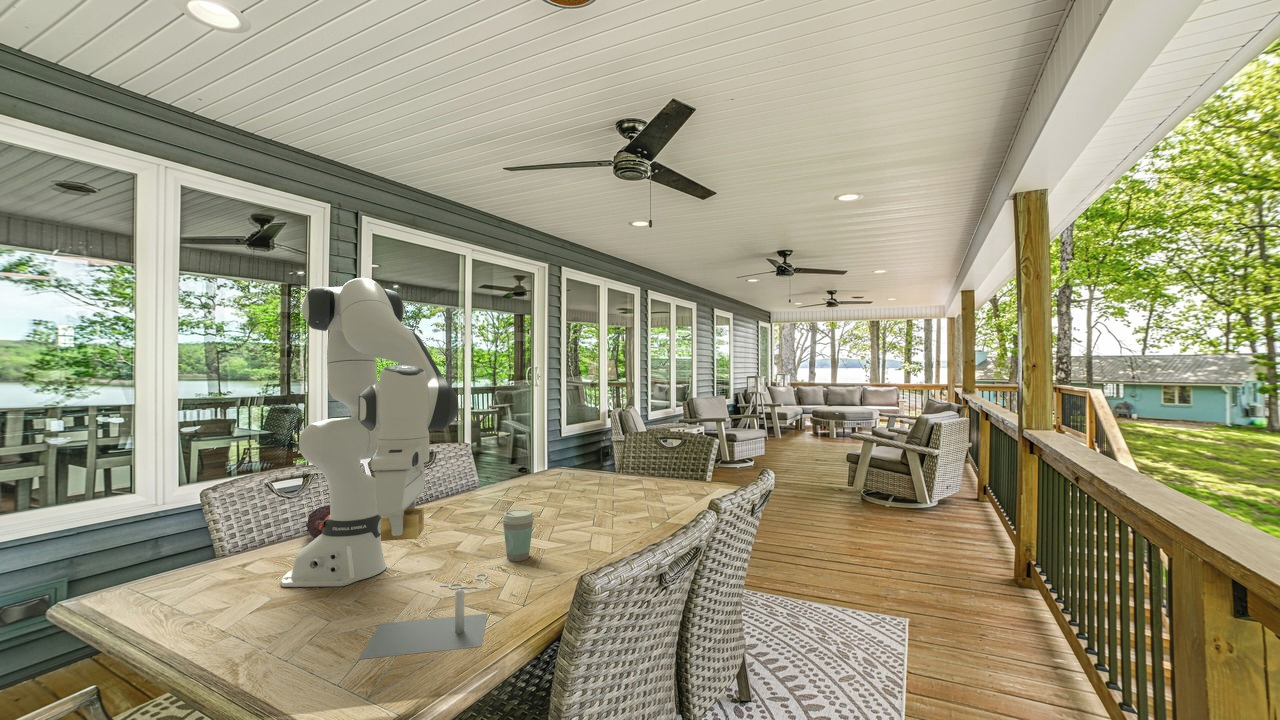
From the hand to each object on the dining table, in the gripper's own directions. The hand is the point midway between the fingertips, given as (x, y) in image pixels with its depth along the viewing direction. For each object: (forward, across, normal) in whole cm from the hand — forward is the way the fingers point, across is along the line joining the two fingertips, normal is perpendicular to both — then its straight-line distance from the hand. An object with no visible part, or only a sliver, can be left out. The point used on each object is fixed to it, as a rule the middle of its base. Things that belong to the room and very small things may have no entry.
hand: (403, 528), depth 96 cm
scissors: (+22, -23, +12) cm, 34 cm away
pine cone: (+21, -73, -39) cm, 85 cm away
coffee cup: (+21, -43, +19) cm, 52 cm away
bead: (+1, 0, 0) cm, 1 cm away
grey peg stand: (+21, 0, +4) cm, 22 cm away
